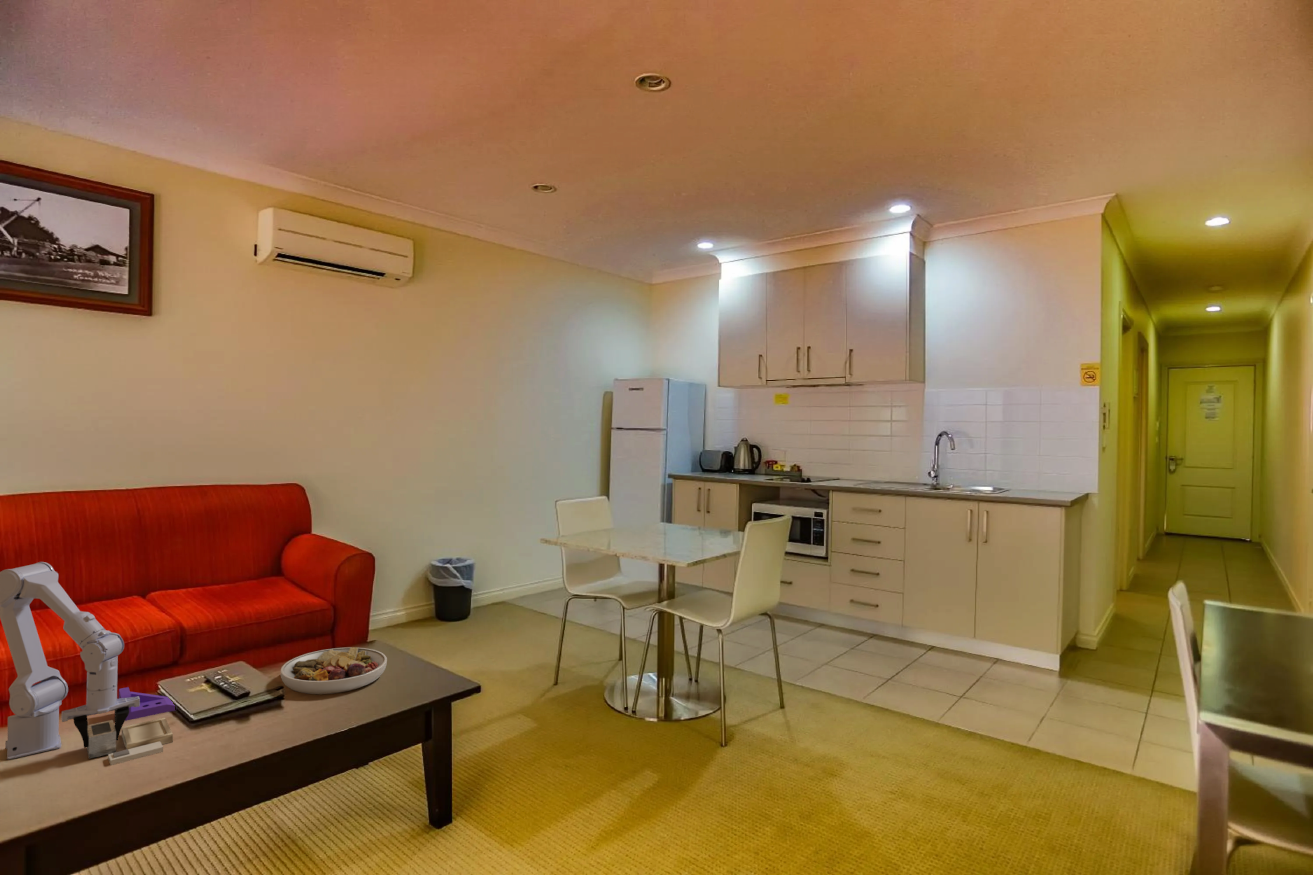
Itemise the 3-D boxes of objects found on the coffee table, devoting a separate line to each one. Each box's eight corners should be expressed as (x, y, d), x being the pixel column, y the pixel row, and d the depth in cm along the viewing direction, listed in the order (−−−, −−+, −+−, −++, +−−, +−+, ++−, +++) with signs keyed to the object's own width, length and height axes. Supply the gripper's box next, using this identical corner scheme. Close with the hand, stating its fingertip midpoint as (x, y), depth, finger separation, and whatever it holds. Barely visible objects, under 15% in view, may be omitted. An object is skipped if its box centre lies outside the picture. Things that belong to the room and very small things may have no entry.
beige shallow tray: (127, 752, 165) (127, 744, 165) (121, 734, 174) (121, 726, 174) (172, 741, 171) (172, 733, 171) (165, 724, 180) (165, 717, 180)
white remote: (163, 753, 166) (163, 745, 166) (110, 767, 159) (110, 758, 159) (160, 747, 169) (160, 739, 169) (108, 760, 162) (108, 752, 162)
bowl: (261, 681, 212) (261, 655, 211) (352, 655, 236) (353, 632, 236) (313, 707, 194) (314, 679, 194) (406, 676, 219) (406, 652, 219)
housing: (88, 758, 161) (89, 737, 161) (86, 745, 167) (86, 725, 167) (115, 751, 164) (116, 731, 164) (112, 739, 170) (112, 719, 170)
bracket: (120, 722, 181) (121, 697, 181) (118, 713, 186) (118, 688, 186) (176, 711, 189) (176, 686, 189) (172, 702, 194) (172, 678, 194)
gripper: (62, 699, 157) (61, 758, 158) (141, 684, 167) (140, 739, 168) (61, 689, 163) (60, 746, 163) (138, 675, 172) (136, 729, 173)
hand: (100, 742), depth 166 cm, fingers closed on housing, 5 cm apart
